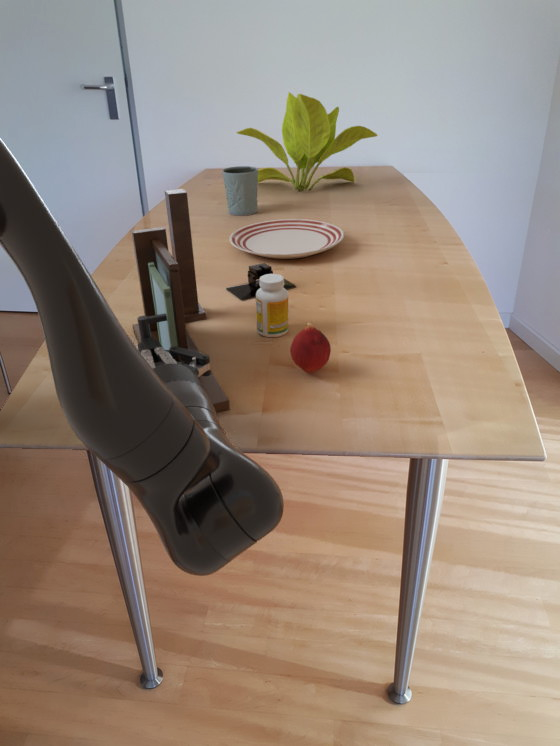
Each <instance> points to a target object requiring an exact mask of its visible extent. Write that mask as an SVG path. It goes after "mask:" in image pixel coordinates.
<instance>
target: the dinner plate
mask: <svg viewBox="0 0 560 746" xmlns="http://www.w3.org/2000/svg"><path fill="white" fill-rule="evenodd" d="M344 238H345V232H344V231H343V229H342V228H340V227H339V226H337V225H335V224H332V223H328V222H327V221H322V220H314V219H305V218H284V219H282V218H281V219H271V220H265V221H260V222H259V221H258V222H255V223H251V224H248V225H245V226H242V227H239V228H238V229H236V230H234V231H233V232H232V233H231V234H230V235H229V243H230V244H231V246H233V247H234V248H236V249H238V250H240V251H241V252H242V251H243V252H245V253H248V254H251V255H256V256H259V257H261V258H267V259H277V260H292V259H301V258H307V257H310V256H314V255H316V254H319V253H322V252H325V251H328V250H330V249H332V248H334V247H336V246H337V245H338V244H339V243H341V242H342V241H343V239H344Z"/></svg>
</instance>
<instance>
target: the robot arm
mask: <svg viewBox="0 0 560 746" xmlns="http://www.w3.org/2000/svg"><path fill="white" fill-rule="evenodd" d="M0 247H1V248H2V250H3V251H4V252H5V253H6V255H7V256H8V257H9V259H10V261H12V263H13V264H14V265H15V267H16V269H17V271H18V272H19V273H20V275H21V276H22V278H23V280H24V283H25V284H26V286H27V288H28V290H29V292H30V294H31V297H32V299H33V302H34V305H35V308H36V311H37V314H38V318H39V321H40V324H41V328H42V332H43V336H44V341H45V345H46V350H47V354H48V359H49V365H50V369H51V375H52V379H53V383H54V388H55V392H56V396H57V399H58V402H59V406H60V408H61V409H62V413H63V415H64V417H65V419H66V421H67V423H68V425H69V427H70V429H71V430H72V431H73V433H74V434H75V436H76V437H77V438H78V440H80V442H81V443H82V444H83V446H84V447H86V449H88V450H89V451H90V453H92V454H93V455H94V456H95V457H96V458H97V459H98V460H99V461H100V462H102V463H103V464H104V465H105V466H106V467H107V469H109V470H110V471H111V472H112V473H113V474H114V475H115V476H116V477H117V478H118V479H119V480H120V481H121V482H122V483H123V484H124V485H125V486H127V488H128V489H129V490H130V491H131V492H132V494H133V495H134V496H135V498H136V499H137V500H138V502H139V503H140V505H141V506H142V508H143V509H144V511H145V513H146V514H147V516H148V517H149V520H150V521H151V523H152V524H153V526H154V529H155V530H156V533H157V534H158V537H159V539H160V541H161V544H162V545H163V547H164V549H165V551H166V553H167V555H168V556H169V559H170V560H171V561H172V563H173V564H174V565H175V567H177V568H178V569H179V570H180V571H182V572H184V573H186V574H188V575H193V576H198V577H205V576H210V575H212V574H215V573H217V572H218V571H220V570H221V569H223V568H224V567H225V566H227V565H228V564H229V563H231V562H232V561H233V560H235V559H236V558H237V557H238V556H240V555H241V554H243V553H244V552H245V551H247V550H248V549H250V548H251V547H252V546H254V545H255V544H257V542H258V541H259V542H260V540H262V539H263V538H265V537H266V536H267V535H269V534H270V533H271V532H273V531H274V530H275V529H276V528H277V527H278V525H279V524H280V522H281V521H282V518H283V515H284V507H285V506H284V505H285V504H284V497H283V493H282V490H281V488H280V486H279V484H278V483H277V481H276V480H275V479H274V477H273V476H272V475H271V474H270V473H269V472H268V471H267V470H266V469H265V468H264V467H263V466H261V465H260V464H259V463H258V462H256V461H255V460H254V459H252V458H251V457H249V456H248V455H247V454H245V453H244V452H242V451H241V450H240V449H239V448H237V447H236V446H235V445H234V444H233V442H232V441H231V440H230V438H229V436H228V435H227V434H226V431H225V429H224V428H223V426H222V424H221V422H220V420H219V419H218V414H217V413H216V411H215V408H214V406H213V404H212V402H211V400H210V399H209V397H208V395H207V393H206V391H205V389H204V388H203V386H202V384H201V382H200V378H199V376H201V375H202V376H209V375H211V371H212V369H211V358H210V357H211V356H210V355H209V354H205V353H202V352H200V353H199V352H195V351H192V350H188V349H184V348H181V347H177V346H173V347H170V348H169V350H165V349H164V348H163V347H162V346H161V344H160V342H159V340H157V339H156V340H154V339H153V337H148V338H142V339H141V341H142V342H140V343H138V342H137V346H136V345H135V344H134V342H133V341H132V339H131V338H130V336H129V335H128V333H127V331H126V330H125V329H124V327H123V325H122V324H121V323H120V320H119V319H118V318H117V316H116V314H115V312H114V311H113V310H112V308H111V306H110V305H109V302H108V301H107V300H106V298H105V296H104V295H103V293H102V291H101V289H100V288H99V286H98V284H97V283H96V281H95V280H94V278H93V277H92V274H91V273H90V272H89V269H88V268H87V267H86V266H85V264H84V262H83V261H82V259H81V257H80V255H79V254H78V252H77V251H76V249H75V247H74V246H73V244H72V243H71V242H70V240H69V238H68V237H67V235H66V233H65V232H64V231H63V229H62V228H61V226H60V224H59V223H58V221H57V220H56V218H55V216H54V215H53V213H52V212H51V210H50V209H49V207H48V205H47V204H46V202H45V201H44V199H43V197H42V196H41V194H40V193H39V191H38V190H37V188H36V186H35V185H34V183H33V182H32V181H31V179H30V177H29V176H28V174H27V173H26V171H25V170H24V169H23V167H22V166H21V163H20V162H19V161H18V160H17V158H16V157H15V155H14V154H13V153H12V151H11V150H10V149H9V147H8V146H7V145H6V143H5V142H4V140H3V139H2V138H1V137H0ZM180 356H182V357H183V358H184V361H181V360H180Z"/></svg>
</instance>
